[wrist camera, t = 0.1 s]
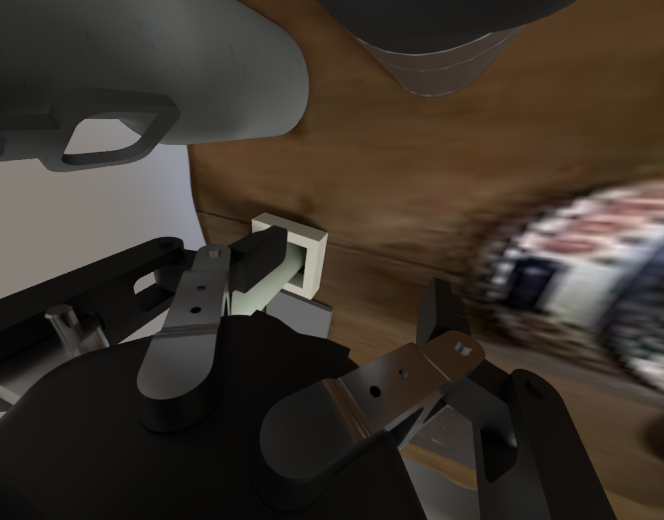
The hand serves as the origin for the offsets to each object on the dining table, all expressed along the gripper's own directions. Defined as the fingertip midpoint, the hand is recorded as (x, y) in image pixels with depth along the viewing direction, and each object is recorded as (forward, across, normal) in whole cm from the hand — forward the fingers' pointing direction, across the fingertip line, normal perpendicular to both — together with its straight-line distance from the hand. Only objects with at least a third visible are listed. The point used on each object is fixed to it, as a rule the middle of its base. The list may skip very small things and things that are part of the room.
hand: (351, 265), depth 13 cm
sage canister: (+18, +12, +12) cm, 25 cm away
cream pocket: (+18, +12, +12) cm, 25 cm away
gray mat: (+19, +10, +26) cm, 33 cm away
